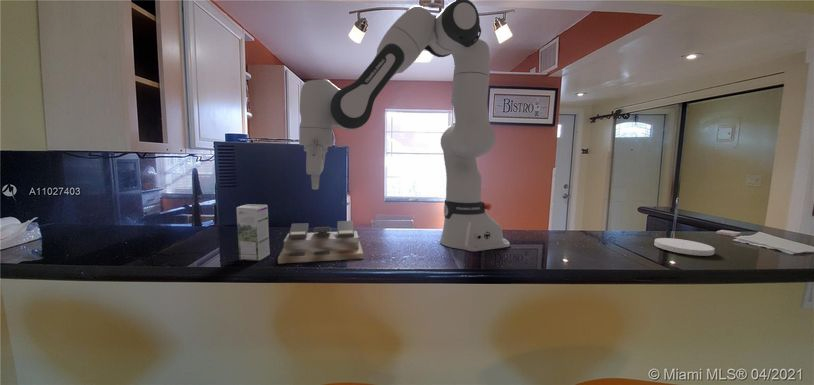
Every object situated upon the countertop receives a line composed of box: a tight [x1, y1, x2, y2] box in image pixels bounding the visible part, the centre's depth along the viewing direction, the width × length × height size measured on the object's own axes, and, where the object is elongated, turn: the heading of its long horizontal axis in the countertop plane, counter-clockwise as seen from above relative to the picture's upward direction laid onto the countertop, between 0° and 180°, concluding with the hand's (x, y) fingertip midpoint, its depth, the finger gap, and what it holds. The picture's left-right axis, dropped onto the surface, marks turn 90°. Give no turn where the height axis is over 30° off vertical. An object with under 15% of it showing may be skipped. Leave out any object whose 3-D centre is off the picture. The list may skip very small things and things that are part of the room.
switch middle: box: [312, 226, 332, 233], centre depth 88 cm, size 5×7×1 cm, turn 13°
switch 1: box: [288, 222, 309, 239], centre depth 87 cm, size 5×7×1 cm, turn 13°
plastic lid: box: [653, 237, 716, 257], centre depth 96 cm, size 14×14×2 cm
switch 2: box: [336, 220, 355, 238], centre depth 90 cm, size 5×7×1 cm, turn 13°
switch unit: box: [277, 230, 364, 264], centre depth 87 cm, size 22×12×6 cm, turn 103°
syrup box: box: [236, 203, 271, 262], centre depth 83 cm, size 6×6×14 cm
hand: (315, 189), depth 87 cm, fingers closed
